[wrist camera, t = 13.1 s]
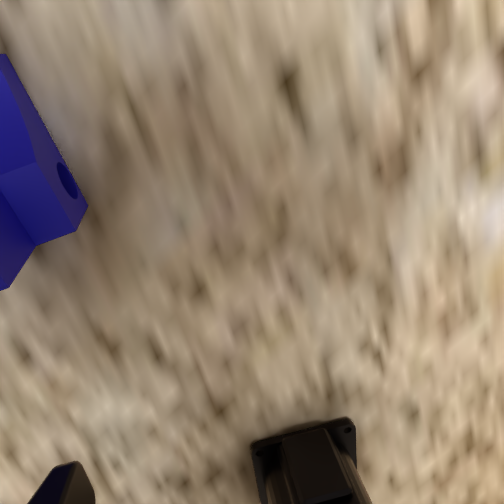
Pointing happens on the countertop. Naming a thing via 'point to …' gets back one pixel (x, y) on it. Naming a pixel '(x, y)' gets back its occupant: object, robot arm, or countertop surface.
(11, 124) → the cable clip
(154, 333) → the countertop surface
